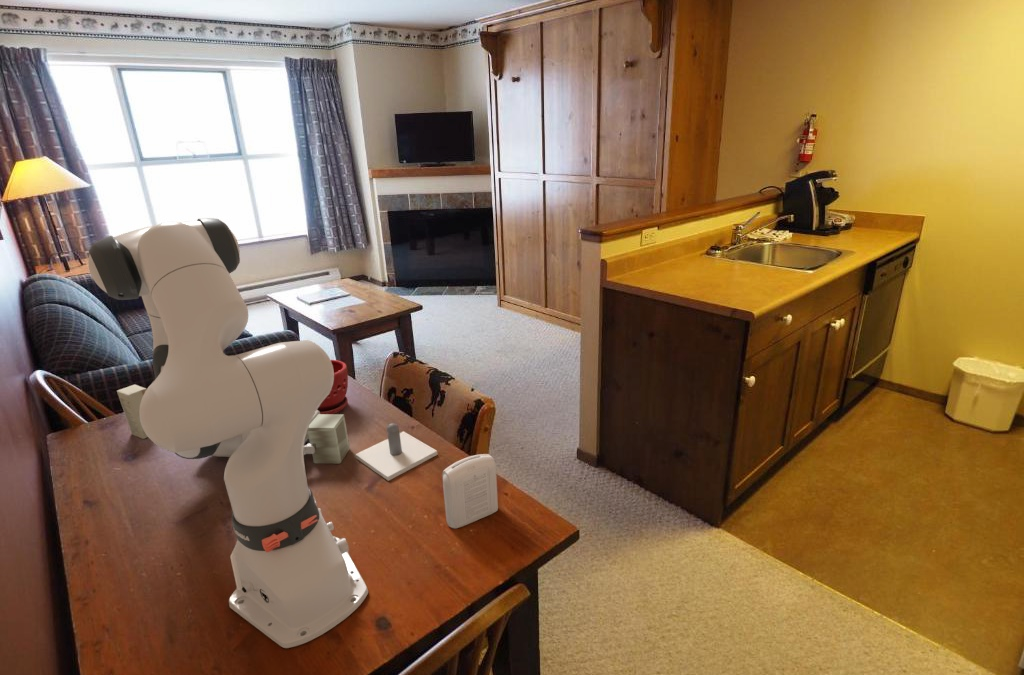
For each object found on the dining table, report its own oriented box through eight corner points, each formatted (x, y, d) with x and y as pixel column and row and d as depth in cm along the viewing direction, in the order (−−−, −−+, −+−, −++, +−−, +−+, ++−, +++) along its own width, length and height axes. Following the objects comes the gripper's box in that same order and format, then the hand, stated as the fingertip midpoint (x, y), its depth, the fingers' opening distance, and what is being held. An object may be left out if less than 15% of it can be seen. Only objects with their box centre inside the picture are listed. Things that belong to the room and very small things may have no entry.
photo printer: (490, 499, 106) (486, 445, 101) (502, 511, 102) (498, 455, 98) (442, 520, 101) (436, 463, 96) (453, 533, 97) (447, 475, 93)
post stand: (437, 454, 121) (434, 422, 118) (388, 480, 113) (383, 446, 110) (403, 434, 130) (399, 404, 127) (355, 458, 121) (350, 425, 119)
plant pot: (339, 421, 138) (331, 378, 133) (291, 419, 140) (282, 377, 136) (360, 398, 150) (354, 358, 145) (316, 396, 152) (309, 357, 148)
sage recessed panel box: (314, 463, 120) (306, 427, 117) (324, 448, 126) (318, 414, 123) (340, 463, 120) (333, 427, 116) (349, 448, 125) (343, 414, 122)
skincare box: (161, 432, 136) (147, 388, 132) (142, 440, 133) (128, 395, 129) (148, 425, 140) (135, 383, 135) (130, 433, 136) (115, 390, 132)
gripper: (236, 450, 111) (300, 450, 110) (283, 403, 130) (338, 403, 129) (243, 476, 114) (306, 476, 112) (288, 426, 133) (342, 426, 131)
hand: (323, 437), depth 121 cm, fingers open, 8 cm apart
